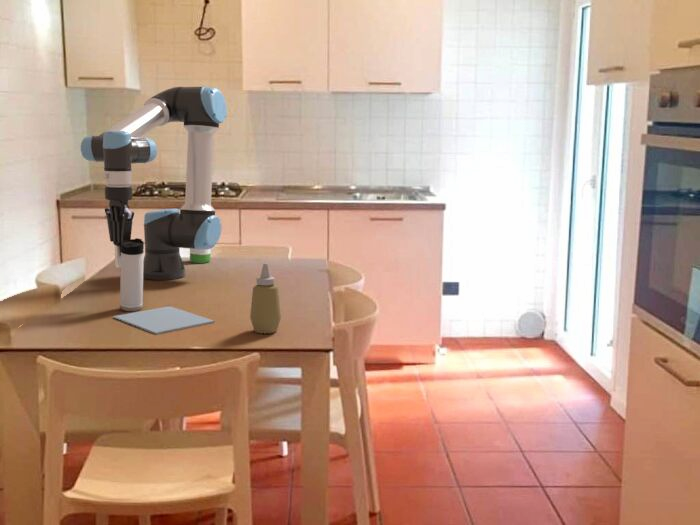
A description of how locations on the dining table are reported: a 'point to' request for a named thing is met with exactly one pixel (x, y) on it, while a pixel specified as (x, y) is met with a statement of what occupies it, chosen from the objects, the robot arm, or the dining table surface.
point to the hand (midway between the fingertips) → (120, 267)
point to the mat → (163, 319)
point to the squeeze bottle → (265, 304)
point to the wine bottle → (200, 255)
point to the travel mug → (131, 275)
